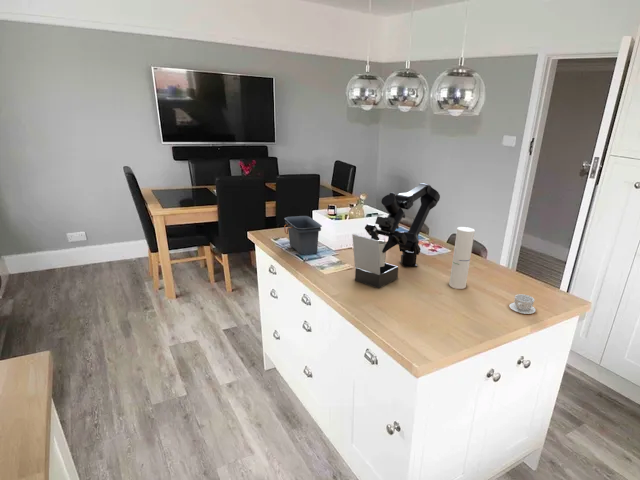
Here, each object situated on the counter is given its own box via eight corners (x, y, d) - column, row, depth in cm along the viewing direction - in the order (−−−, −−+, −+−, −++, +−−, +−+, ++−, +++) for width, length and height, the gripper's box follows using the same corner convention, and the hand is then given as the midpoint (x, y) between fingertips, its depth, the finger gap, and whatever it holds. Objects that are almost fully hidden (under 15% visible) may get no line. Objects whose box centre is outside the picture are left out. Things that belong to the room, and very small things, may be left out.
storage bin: (324, 254, 205) (324, 226, 199) (294, 258, 197) (293, 228, 191) (308, 242, 221) (307, 215, 215) (279, 245, 213) (278, 217, 207)
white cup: (386, 263, 179) (387, 241, 175) (383, 268, 174) (384, 245, 170) (372, 261, 180) (373, 239, 176) (369, 266, 175) (370, 243, 171)
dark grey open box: (374, 271, 188) (375, 259, 186) (397, 278, 183) (398, 266, 180) (354, 280, 177) (355, 267, 175) (378, 288, 171) (379, 275, 169)
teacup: (515, 301, 169) (517, 290, 167) (539, 309, 164) (541, 298, 162) (504, 308, 162) (507, 297, 160) (529, 317, 156) (532, 306, 154)
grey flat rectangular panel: (353, 233, 167) (352, 234, 166) (378, 240, 161) (377, 241, 160) (356, 266, 175) (354, 267, 174) (380, 274, 169) (379, 274, 169)
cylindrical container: (465, 289, 176) (474, 232, 166) (448, 287, 178) (456, 230, 167) (466, 283, 183) (475, 228, 172) (449, 281, 184) (457, 226, 173)
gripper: (368, 204, 175) (350, 235, 171) (405, 212, 166) (388, 245, 162) (378, 220, 184) (361, 249, 180) (414, 228, 175) (397, 259, 171)
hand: (376, 250), depth 173 cm, fingers closed on white cup, 6 cm apart
